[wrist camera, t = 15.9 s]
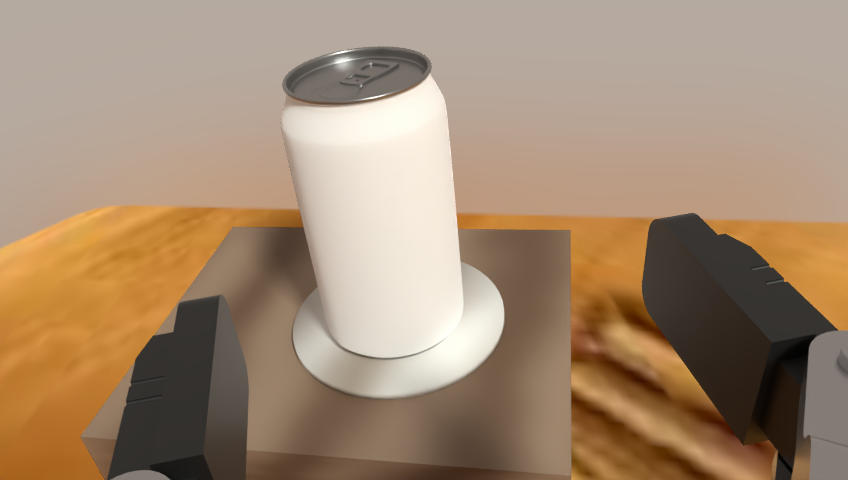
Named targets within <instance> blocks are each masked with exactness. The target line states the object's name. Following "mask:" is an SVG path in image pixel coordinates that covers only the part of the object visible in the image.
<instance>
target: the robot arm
mask: <svg viewBox="0 0 848 480" xmlns="http://www.w3.org/2000/svg"><path fill="white" fill-rule="evenodd" d="M642 293H643V299H644V303H645V306H646V308H647V311H648V313H649V315H650V316H651V318H652V319H653V320H654V322H655V323H656V325H657V326H658V327H659V329H660V330H661V332H662V333H663V334H664V336H665V337H666V338H667V340H668V341H669V343H670V344H671V345H672V347H673V348H674V350H675V351H676V352H677V354H678V355H679V357H680V358H681V359H682V361H683V362H684V364H685V365H686V366H687V368H688V369H689V370H690V372H691V373H692V375H693V376H694V377H695V379H696V380H697V382H698V383H699V384H700V386H701V387H702V389H703V390H704V391H705V393H706V394H707V396H708V397H709V398H710V400H711V401H712V402H713V404H714V405H715V407H716V408H717V409H718V411H719V412H720V414H721V415H722V416H723V418H724V419H725V421H726V422H727V423H728V425H729V426H730V428H731V429H732V430H733V432H734V433H735V434H736V436H737V437H738V439H739V440H740V441H741V443H742V444H743V445H748V444H752V443H757V442H761V441H766V440H770V441H771V443H772V444H773V445H774V447H775V448H776V452H775V456H774V459H773V464H772V473H771V480H848V331H839V330H838V329H836V328H835V327H834V326H833V325H832V324H831V323H830V322H829V321H828V320H827V319H826V318H825V317H824V316H823V315H822V314H821V313H820V312H819V311H818V310H817V309H816V308H814V307H813V306H812V305H811V304H810V303H809V302H808V301H807V300H806V299H805V298H804V297H803V296H802V295H801V294H800V293H799V292H798V291H797V290H796V289H795V288H794V287H792V286H791V285H790V284H789V283H788V282H784V278H783V277H782V276H781V275H780V274H779V273H778V272H777V271H776V270H775V269H774V268H770V267H769V264H768V263H767V262H766V261H765V260H764V259H763V258H762V257H761V256H760V255H759V254H758V253H757V252H756V251H755V250H754V249H753V248H752V247H750V246H748V245H746V244H744V243H742V242H740V241H738V240H736V239H734V238H733V237H731V236H729V235H727V234H721V235H717V234H716V233H715V232H714V231H713V230H712V229H711V228H710V227H709V226H708V225H707V224H706V223H705V222H704V221H703V220H702V219H701V218H700V217H699V216H698V215H696V214H694V213H689V214H684V215H678V216H672V217H667V218H661V219H655V220H653V221H652V223H651V224H650V227H649V232H648V240H647V248H646V256H645V264H644V272H643V280H642ZM130 382H131V386H130V387H129V390H128V394H127V398H126V406H125V407H124V411H123V415H122V419H121V423H120V428H119V432H118V436H117V440H116V444H115V449H114V453H113V457H112V461H111V465H110V469H109V474H108V478H107V480H246V454H247V428H248V401H249V382H248V373H247V367H246V362H245V358H244V355H243V352H242V348H241V345H240V342H239V339H238V336H237V333H236V329H235V326H234V323H233V320H232V317H231V313H230V310H229V307H228V304H227V301H226V299H225V297H224V296H223V295H216V296H211V297H205V298H199V299H194V300H188V301H182V302H180V303H179V305H178V308H177V314H176V319H175V325H174V330H173V332H171V333H165V334H160V335H154V336H152V338H151V339H150V340H149V342H148V343H147V344H146V346H145V347H144V348H143V350H142V351H141V352H140V354H139V355H138V356H137V358H136V360H135V365H134V369H133V373H132V377H131V381H130Z"/></svg>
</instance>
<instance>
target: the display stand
mask: <svg viewBox="0 0 848 480" xmlns="http://www.w3.org/2000/svg"><path fill="white" fill-rule="evenodd" d="M458 239H459V251H460V263H461V275H462V287H463V314H462V317H461V319H460V321H459V323H458V325H457V326H456V328H455V329H454V330H453V331H452V332H451V333H450V334H449V335H448V336H447V337H446V338H445V339H444V340H443V341H442V342H441V343H439V344H438V345H436V346H435V347H433V348H431V349H430V350H428V351H425V352H423V353H421V354H418V355H415V356H411V357H407V358H401V359H390V360H388V359H376V358H370V357H366V356H362V355H359V354H357V353H354V352H352V351H350V350H348V349H346V348H344V347H342V346H341V345H340V344H339V343H338V342H337V341H336V340H335V339H334V338H333V336H332V335H331V333H330V330H329V328H328V325H327V321H326V317H325V313H324V309H323V305H322V301H321V297H320V293H319V289H318V285H317V281H316V277H315V273H314V268H313V264H312V260H311V256H310V252H309V247H308V243H307V239H306V235H305V231H304V228H287V227H233V228H232V229H231V230H230V232H229V233H228V235H227V236H226V237H225V239H224V240H223V241H222V243H221V244H220V246H219V247H218V248H217V250H216V251H215V252H214V254H213V255H212V257H211V258H210V259H209V261H208V262H207V263H206V265H205V266H204V268H203V269H202V270H201V272H200V273H199V274H198V276H197V277H196V279H195V280H194V281H193V283H192V284H191V285H190V287H189V288H188V290H187V291H186V292H185V294H184V295H183V296H182V298H181V299H180V301H179V302H178V303H177V305H176V306H175V307H174V309H173V310H172V312H171V313H170V314H169V316H168V317H167V318H166V320H165V321H164V323H163V324H162V325H161V327H160V328H159V329H158V331H157V332H156V334H155V335H160V334H165V333H171V332H173V330H174V325H175V319H176V314H177V308H178V305H179V303H180V302H182V301H188V300H194V299H199V298H205V297H211V296H216V295H223V296H224V297H225V299H226V301H227V304H228V307H229V310H230V313H231V317H232V320H233V323H234V326H235V329H236V333H237V336H238V339H239V342H240V345H241V348H242V352H243V355H244V358H245V362H246V367H247V373H248V382H249V401H248V428H247V454H246V480H571V258H570V230H496V229H458ZM134 365H135V362H134V364H133V365H132V366H131V368H130V369H129V371H128V372H127V373H126V375H125V376H124V377H123V379H122V380H121V382H120V383H119V384H118V386H117V387H116V388H115V390H114V391H113V393H112V394H111V395H110V397H109V398H108V399H107V401H106V402H105V404H104V405H103V406H102V408H101V409H100V410H99V412H98V413H97V415H96V416H95V417H94V419H93V420H92V421H91V423H90V424H89V426H88V427H87V428H86V430H85V431H84V432H83V434H82V435H81V439H82V441H83V442H84V444H85V446H86V448H87V449H88V451H89V453H90V455H91V456H92V458H93V460H94V462H95V463H96V465H97V467H98V469H99V470H100V472H101V474H102V476H103V478H104V479H105V480H107V478H108V474H109V469H110V465H111V461H112V457H113V453H114V449H115V444H116V440H117V436H118V432H119V428H120V423H121V419H122V415H123V411H124V407H125V406H126V398H127V394H128V390H129V387H130V386H131V382H130V381H131V377H132V373H133V369H134Z"/></svg>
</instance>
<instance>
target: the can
mask: <svg viewBox="0 0 848 480" xmlns="http://www.w3.org/2000/svg"><path fill="white" fill-rule="evenodd" d="M430 72H431V62H430V60H429V59H428V58H427V57H426V56H425V55H423V54H422V53H419V52H417V51H414V50H410V49H405V48H398V47H364V48H356V49H349V50H343V51H338V52H334V53H330V54H327V55H323V56H320V57H317V58H314V59H312V60H309V61H307V62H305V63H302V64H301V65H299V66H297V67H296V68H294V69H293V70H292V71H290V72H289V73H288V74H287V75H286V76H285V78H284V80H283V83H282V85H283V90H284V91H285V93H286V94H287V96H286V102H285V105H284V109H283V113H282V118H281V129H282V134H283V140H284V145H285V149H286V153H287V158H288V162H289V167H290V171H291V175H292V180H293V183H294V188H295V193H296V197H297V201H298V205H299V210H300V214H301V218H302V222H303V226H304V231H305V235H306V239H307V243H308V247H309V252H310V256H311V260H312V264H313V268H314V273H315V277H316V281H317V285H318V289H319V293H320V297H321V301H322V305H323V309H324V313H325V317H326V321H327V325H328V328H329V330H330V333H331V335H332V336H333V338H334V339H335V340H336V341H337V342H338V343H339V344H340V345H341V346H342V347H344V348H346V349H348V350H350V351H352V352H354V353H357V354H359V355H362V356H366V357H370V358H376V359H388V360H390V359H401V358H407V357H411V356H415V355H418V354H421V353H423V352H425V351H428V350H430V349H431V348H433V347H435V346H436V345H438V344H439V343H441V342H442V341H443V340H444V339H445V338H446V337H447V336H448V335H449V334H450V333H451V332H452V331H453V330H454V329H455V328H456V326H457V325H458V323H459V321H460V319H461V317H462V314H463V287H462V275H461V263H460V251H459V239H458V228H457V216H456V205H455V194H454V183H453V172H452V162H451V150H450V139H449V130H448V119H447V112H446V105H445V100H444V97H443V95H442V93H441V91H440V89H439V88H438V86H437V85H436V83H435V81H434V80H433V78H432V77H431V74H430Z"/></svg>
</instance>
